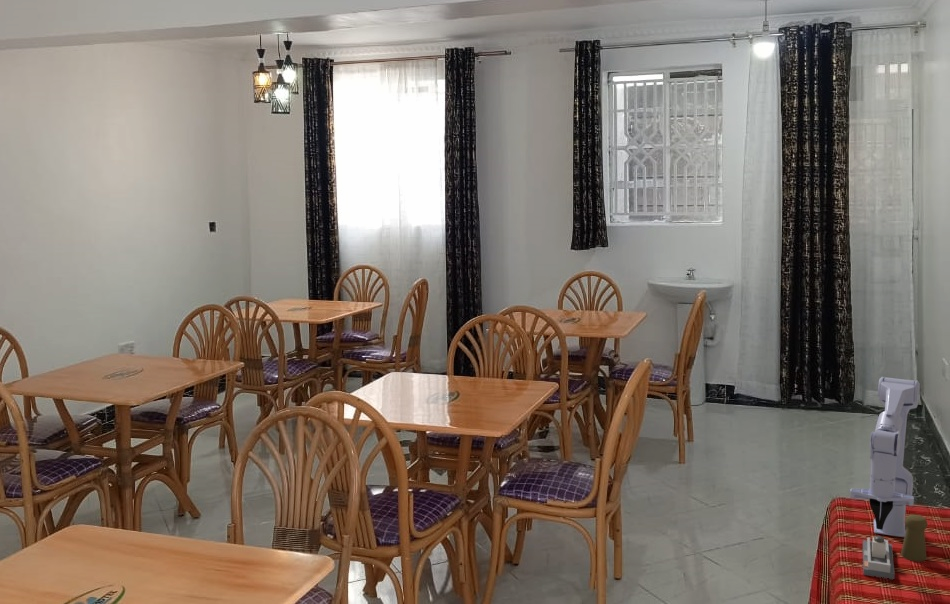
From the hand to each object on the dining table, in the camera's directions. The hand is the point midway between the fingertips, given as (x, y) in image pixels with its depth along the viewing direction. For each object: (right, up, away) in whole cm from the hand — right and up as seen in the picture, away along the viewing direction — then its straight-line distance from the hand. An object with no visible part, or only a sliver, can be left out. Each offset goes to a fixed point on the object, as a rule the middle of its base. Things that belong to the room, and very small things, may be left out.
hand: (879, 527), depth 218 cm
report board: (+1, -10, +4) cm, 11 cm away
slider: (+2, -8, +4) cm, 9 cm away
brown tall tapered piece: (+12, -9, +7) cm, 17 cm away
